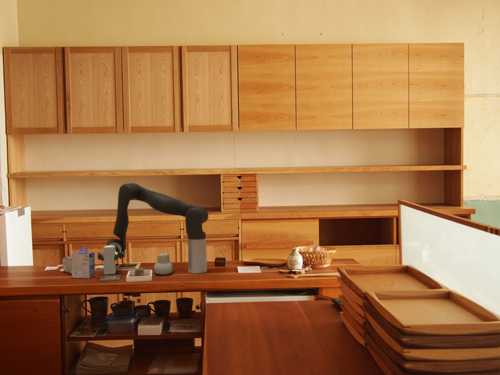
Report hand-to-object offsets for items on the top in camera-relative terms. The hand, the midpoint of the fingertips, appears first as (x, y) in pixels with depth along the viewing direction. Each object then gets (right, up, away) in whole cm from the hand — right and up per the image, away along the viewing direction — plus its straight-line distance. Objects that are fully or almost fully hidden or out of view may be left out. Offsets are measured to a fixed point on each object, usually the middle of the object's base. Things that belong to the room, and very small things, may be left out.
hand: (109, 258), depth 220 cm
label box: (0, -7, +3) cm, 8 cm away
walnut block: (+14, -10, +1) cm, 18 cm away
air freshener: (+24, -10, +12) cm, 29 cm away
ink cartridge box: (-15, -10, +7) cm, 19 cm away
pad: (0, -10, +3) cm, 11 cm away
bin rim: (+14, -10, +4) cm, 18 cm away
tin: (-24, -10, +15) cm, 31 cm away
